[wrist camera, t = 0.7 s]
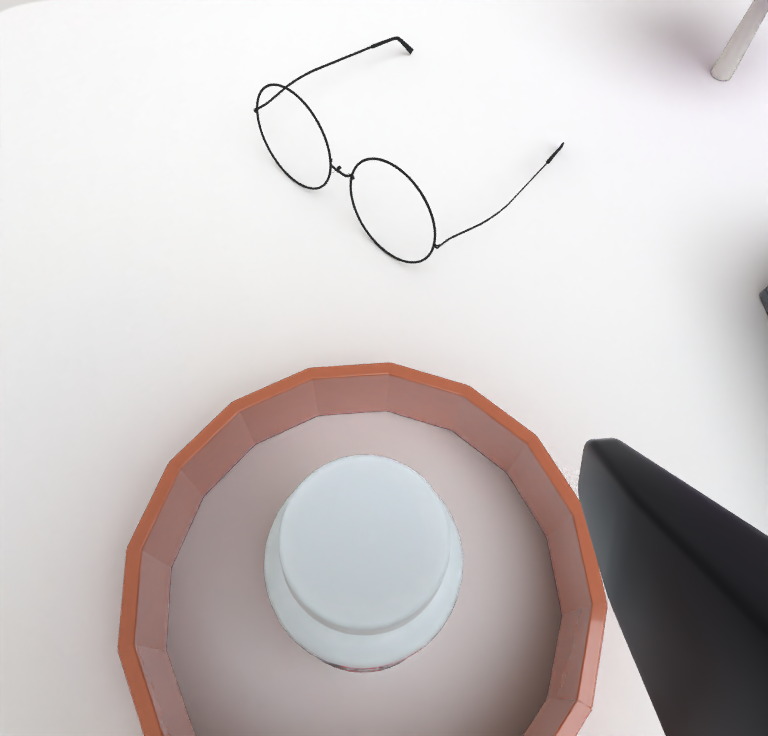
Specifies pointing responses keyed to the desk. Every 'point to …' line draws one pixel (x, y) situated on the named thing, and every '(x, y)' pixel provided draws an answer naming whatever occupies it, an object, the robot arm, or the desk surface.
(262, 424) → the ring
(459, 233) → the eyeglasses
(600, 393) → the desk surface
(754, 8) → the toy
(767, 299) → the bin
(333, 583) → the pill bottle
